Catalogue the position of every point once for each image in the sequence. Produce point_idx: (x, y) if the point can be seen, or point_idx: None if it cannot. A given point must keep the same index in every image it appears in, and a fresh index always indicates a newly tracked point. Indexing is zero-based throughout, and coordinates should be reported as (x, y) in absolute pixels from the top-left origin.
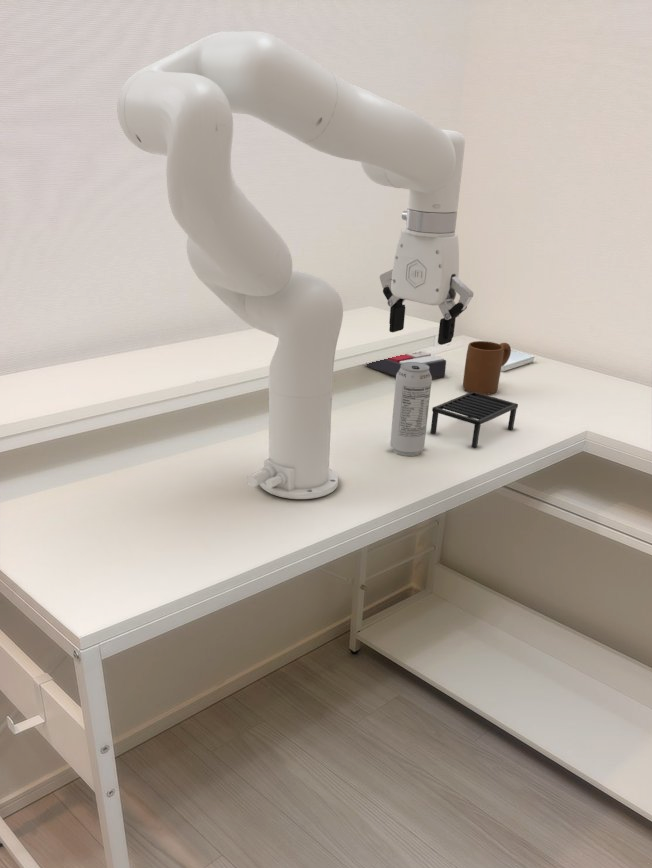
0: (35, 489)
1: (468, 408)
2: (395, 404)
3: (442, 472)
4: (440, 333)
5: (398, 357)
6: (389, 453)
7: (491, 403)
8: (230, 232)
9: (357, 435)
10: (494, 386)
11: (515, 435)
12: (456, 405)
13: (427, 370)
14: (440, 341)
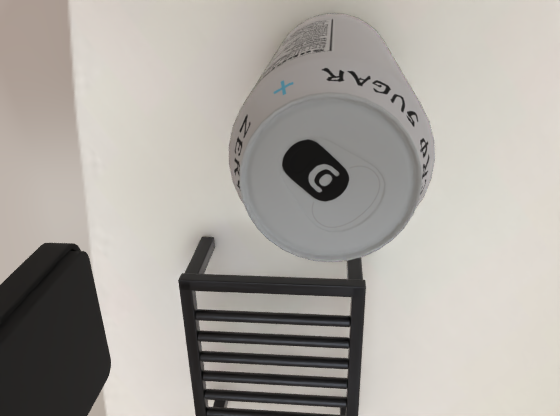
0: None
1: (281, 357)
2: (374, 45)
3: (143, 9)
4: (13, 292)
5: None
6: (362, 7)
7: None
8: None
9: (547, 59)
10: None
11: (189, 372)
12: (326, 358)
13: (244, 190)
14: (39, 249)
